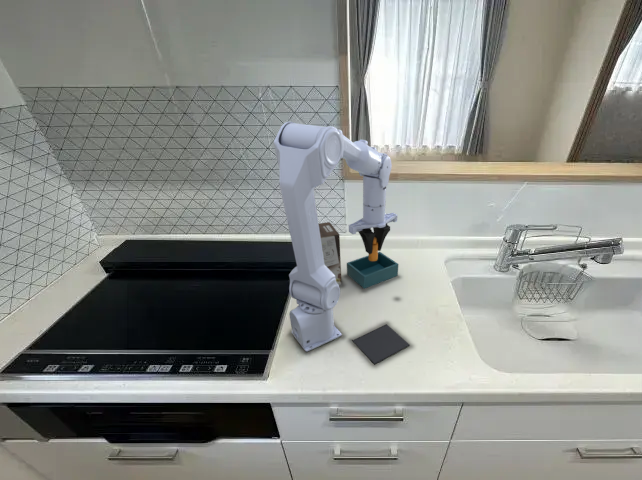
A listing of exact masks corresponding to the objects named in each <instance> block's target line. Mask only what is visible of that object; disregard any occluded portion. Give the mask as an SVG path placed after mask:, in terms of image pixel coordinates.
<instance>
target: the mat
mask: <svg viewBox="0 0 642 480" xmlns="http://www.w3.org/2000/svg"><path fill="white" fill-rule="evenodd" d="M351 341H352V342H353V344H354V345H355V346H356V347H357V348H358V349H359V350H360V351H361V352H362V353H363V354H364V356H366V357H367V359H368V360H369V361H371V363H372V364H373V366H374V365H377V364H379V363H380V362H382V361H385V360H386V359H388V358H390V357H392V356H394V355H396V354H397V353H399V352H401V351H403V350H404V349H406V348H408V347H410V346H411V344H410V343H409V342H407V341H406V340H405V339H404V338H403V337H402V336H401V335H399V333H397V332H396V331H395V330H394V329H393V328H392V327H391V326H390V325H388V323H387V324H386V323H385V324H384V325H382V326H380V327H377V328H374V329H373V330H371V331H369V332H367V333H364V334H363V335H361V336H359V337H357V338H355V339H351Z"/></svg>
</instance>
